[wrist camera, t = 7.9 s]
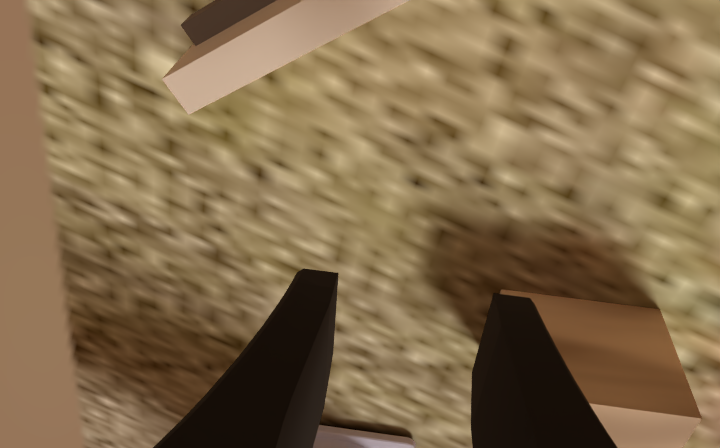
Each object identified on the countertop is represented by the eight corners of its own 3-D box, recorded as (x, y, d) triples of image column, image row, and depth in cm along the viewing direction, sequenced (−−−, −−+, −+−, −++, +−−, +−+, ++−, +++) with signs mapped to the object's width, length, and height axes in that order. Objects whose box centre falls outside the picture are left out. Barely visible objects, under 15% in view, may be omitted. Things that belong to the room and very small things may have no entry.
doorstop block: (629, 368, 26) (662, 479, 22) (483, 349, 26) (490, 455, 22) (659, 308, 24) (702, 418, 20) (501, 287, 24) (511, 393, 20)
